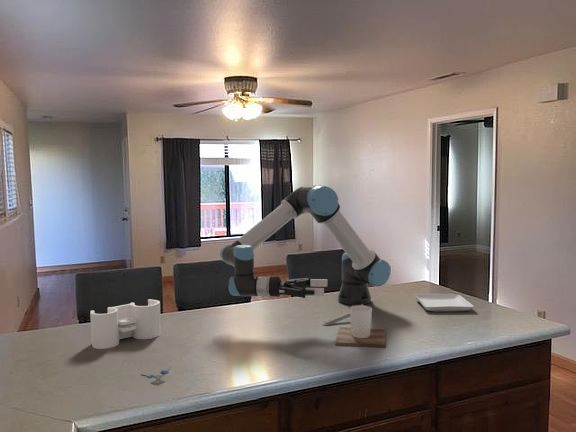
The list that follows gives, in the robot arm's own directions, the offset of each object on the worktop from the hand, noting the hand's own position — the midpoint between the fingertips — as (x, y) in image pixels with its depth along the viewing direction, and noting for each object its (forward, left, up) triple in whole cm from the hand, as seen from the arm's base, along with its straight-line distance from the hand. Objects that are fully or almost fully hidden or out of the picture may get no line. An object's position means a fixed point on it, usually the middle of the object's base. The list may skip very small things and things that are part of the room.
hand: (325, 287), depth 181 cm
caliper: (-15, +6, -18) cm, 24 cm away
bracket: (+19, -70, -18) cm, 75 cm away
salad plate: (-44, +47, -18) cm, 67 cm away
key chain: (+47, -46, -18) cm, 68 cm away
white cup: (+4, +13, -16) cm, 21 cm away
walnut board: (+4, +13, -17) cm, 22 cm away
